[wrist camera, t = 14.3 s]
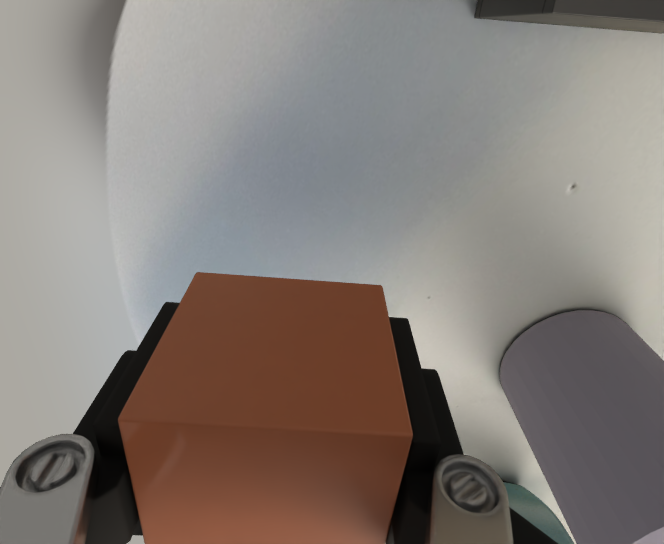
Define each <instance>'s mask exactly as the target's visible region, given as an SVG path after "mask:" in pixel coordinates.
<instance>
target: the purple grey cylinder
mask: <svg viewBox="0 0 664 544" xmlns="http://www.w3.org/2000/svg"><path fill="white" fill-rule="evenodd" d="M500 382H501V385H502V388H503V390H504V393H505V395H506V397H507V399H508V401H509V403H510V405H511V407H512V409H513V411H514V413H515V416H516V418H517V420H518V422H519V424H520V426H521V428H522V430H523V432H524V434H525V436H526V439H527V441H528V443H529V445H530V447H531V449H532V451H533V453H534V455H535V457H536V459H537V462H538V464H539V466H540V468H541V470H542V472H543V474H544V476H545V478H546V480H547V482H548V485H549V487H550V489H551V491H552V493H553V495H554V497H555V499H556V501H557V503H558V505H559V508H560V510H561V512H562V514H563V516H564V518H565V520H566V522H567V524H568V526H569V528H570V531H571V533H572V535H573V537H574V539H575V541H576V543H577V544H664V361H663V360H662V359H661V358H660V357H659V356H658V355H657V354H656V353H655V352H654V351H653V350H652V349H651V348H650V347H649V346H648V345H647V344H646V343H645V342H644V341H643V340H642V339H641V338H640V337H639V336H638V335H637V334H636V333H635V332H634V331H633V330H632V329H631V328H630V327H629V326H628V325H627V324H626V323H625V322H624V321H622V320H621V319H619V318H618V317H616V316H614V315H611V314H608V313H606V312H600V311H594V310H577V311H571V312H565V313H561V314H558V315H555V316H552V317H549V318H547V319H545V320H543V321H541V322H539V323H537V324H535V325H533V326H532V327H531V328H529V329H528V330H526V331H525V332H523V333H522V334H521V335H520V336H519V337H518V338H517V339H516V340H515V341H514V342H513V343H512V345H511V346H510V347H509V349H508V350H507V352H506V354H505V356H504V358H503V360H502V363H501V368H500Z"/></svg>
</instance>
